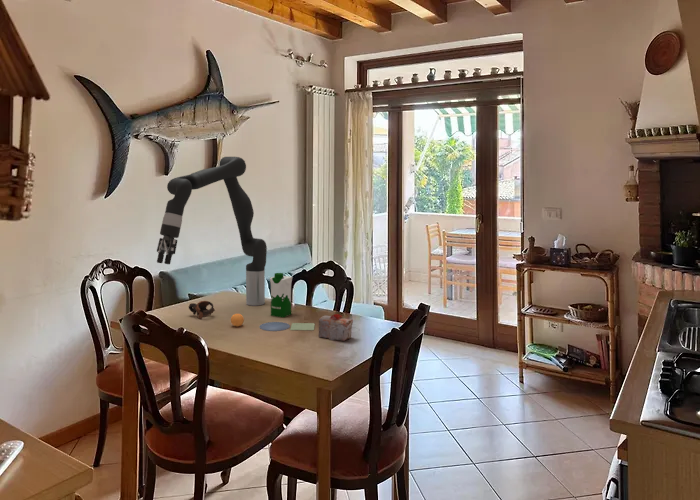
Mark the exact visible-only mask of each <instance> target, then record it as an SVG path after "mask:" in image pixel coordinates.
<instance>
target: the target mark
mask: <svg viewBox="0 0 700 500" xmlns="http://www.w3.org/2000/svg"><path fill="white" fill-rule="evenodd" d="M258 327H259V329H261V330H262V331H268V332H280V331H285V330H288V329H290V328H291V325H290V324H289V323H286V322H282V321H271V322H265V323H261V324H259V326H258Z"/></svg>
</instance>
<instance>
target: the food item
mask: <svg viewBox="0 0 700 500" xmlns="http://www.w3.org/2000/svg"><path fill="white" fill-rule="evenodd" d="M353 322H354V320H353V319H350V318H343V316H342V315H341V314H339V313H334V314H333V315H322V316H321V317H319V319H318V338H323V339H329V341H335V340H337V341H341V342H343V341H344V342H345V341H347V340H350V339H351V338H352V330H353V329H352V328H353Z"/></svg>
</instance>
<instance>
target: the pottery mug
mask: <svg viewBox="0 0 700 500" xmlns="http://www.w3.org/2000/svg"><path fill="white" fill-rule="evenodd" d="M208 306H210V309H208ZM188 310H189V311H190V312H192V313H193V315H197V318H198V319H199V320H202V319H203V318H205V317H209V316H211V315H212V314H214V312H216V310H215V308H214V304H213V302H211V301H208V300H201V301H199V302H197V303H189V306H188Z"/></svg>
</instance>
